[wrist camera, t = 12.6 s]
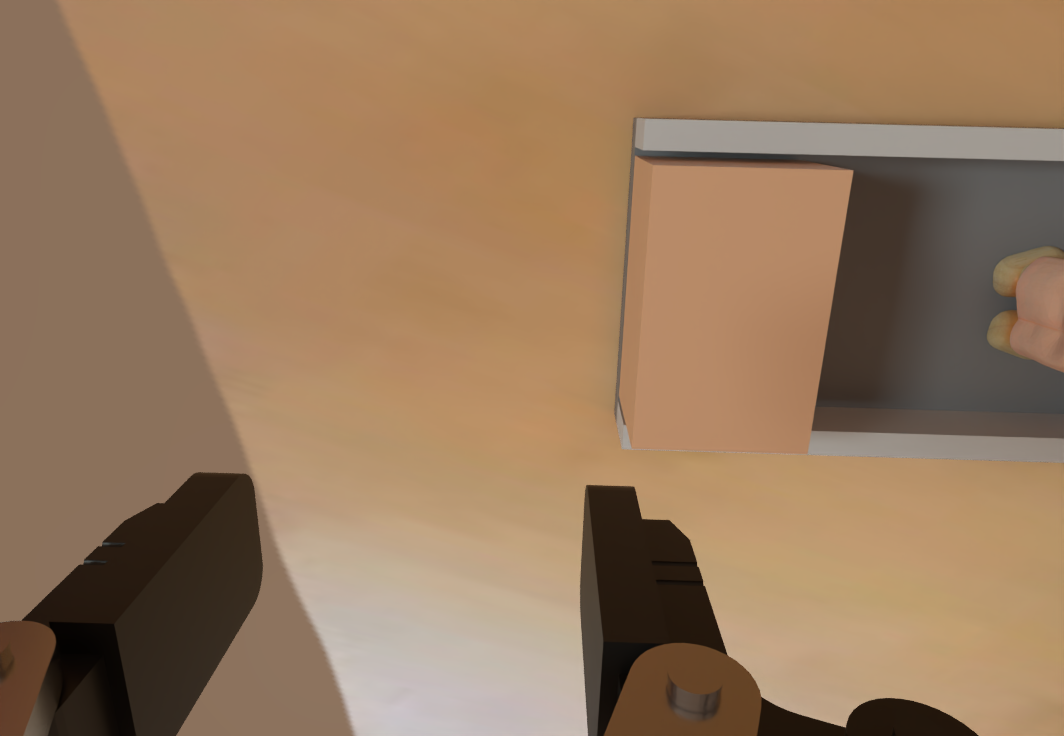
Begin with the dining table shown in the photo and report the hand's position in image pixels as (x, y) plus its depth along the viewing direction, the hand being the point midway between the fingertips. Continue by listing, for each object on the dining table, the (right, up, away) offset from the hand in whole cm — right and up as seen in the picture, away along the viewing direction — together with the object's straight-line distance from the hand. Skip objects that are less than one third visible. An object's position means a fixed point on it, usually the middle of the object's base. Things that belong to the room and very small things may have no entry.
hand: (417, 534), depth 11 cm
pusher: (+8, +6, +17) cm, 20 cm away
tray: (+15, +6, +18) cm, 25 cm away
